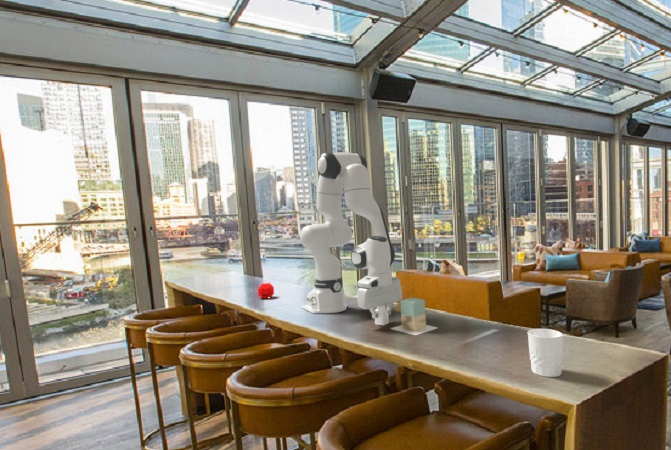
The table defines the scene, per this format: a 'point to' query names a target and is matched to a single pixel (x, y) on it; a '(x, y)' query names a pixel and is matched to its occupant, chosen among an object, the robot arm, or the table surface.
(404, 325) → the maple brick
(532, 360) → the white cup
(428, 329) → the plate
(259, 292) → the ball
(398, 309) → the figurine
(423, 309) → the sage brick
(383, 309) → the pepper shaker
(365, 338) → the table surface
